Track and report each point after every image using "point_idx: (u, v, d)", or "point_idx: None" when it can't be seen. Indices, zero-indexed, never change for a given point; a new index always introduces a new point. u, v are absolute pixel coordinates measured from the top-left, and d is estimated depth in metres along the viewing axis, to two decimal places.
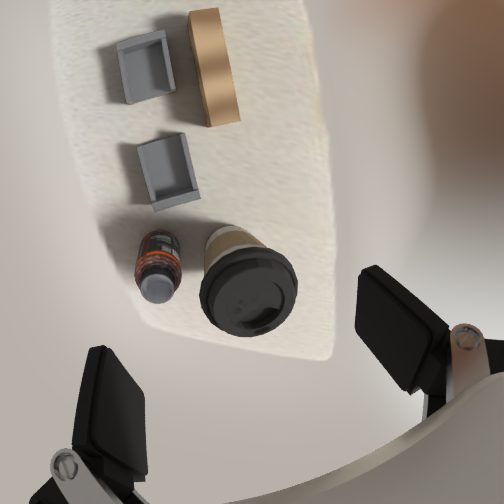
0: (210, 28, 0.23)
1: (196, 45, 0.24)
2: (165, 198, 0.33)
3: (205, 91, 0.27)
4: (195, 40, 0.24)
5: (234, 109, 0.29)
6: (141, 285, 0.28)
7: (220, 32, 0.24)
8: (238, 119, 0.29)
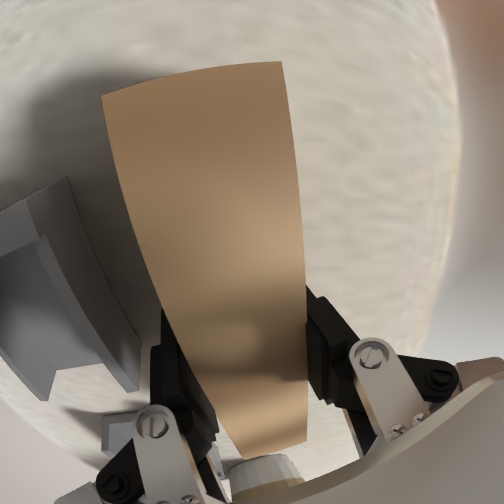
0: (237, 221, 0.06)
1: (173, 320, 0.06)
2: None
3: (227, 428, 0.09)
4: (163, 296, 0.06)
5: (298, 433, 0.11)
6: None
7: (289, 241, 0.06)
8: (302, 440, 0.12)
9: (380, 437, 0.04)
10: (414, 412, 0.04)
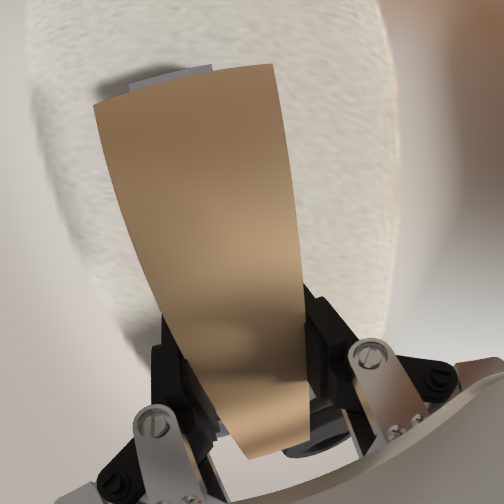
0: (232, 225, 0.06)
1: (172, 325, 0.06)
2: None
3: (230, 429, 0.09)
4: (162, 301, 0.06)
5: (301, 433, 0.11)
6: None
7: (285, 244, 0.06)
8: (305, 440, 0.12)
9: (379, 437, 0.04)
10: (413, 413, 0.04)
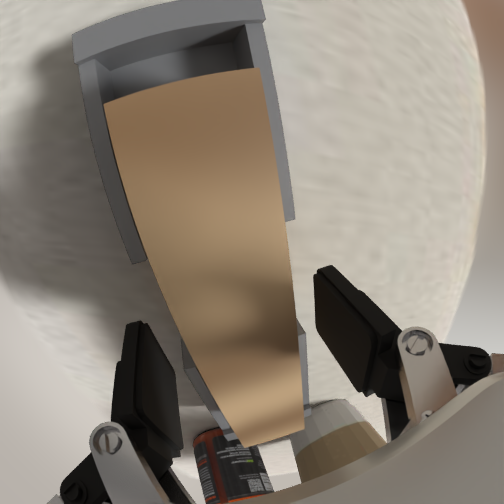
0: (225, 209, 0.06)
1: (170, 302, 0.07)
2: None
3: (225, 413, 0.10)
4: (161, 279, 0.07)
5: (296, 420, 0.12)
6: None
7: (273, 227, 0.07)
8: (300, 428, 0.12)
9: (412, 421, 0.04)
10: None
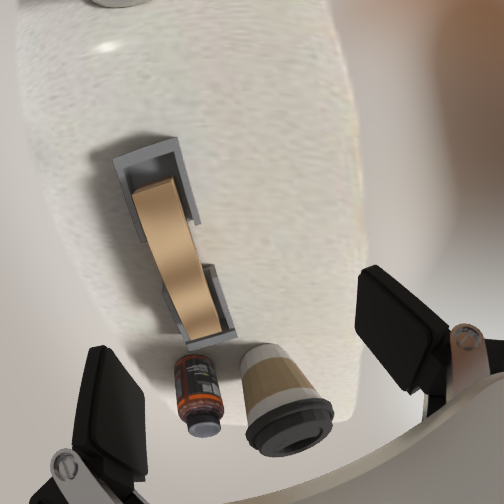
0: (166, 222, 0.22)
1: (152, 250, 0.23)
2: (200, 338, 0.31)
3: (176, 307, 0.25)
4: (150, 243, 0.22)
5: (213, 321, 0.27)
6: (189, 429, 0.26)
7: (180, 226, 0.23)
8: (219, 330, 0.28)
9: None
10: None
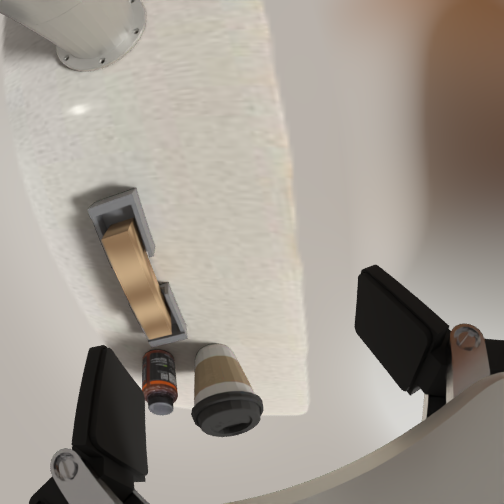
0: (126, 258, 0.30)
1: (118, 277, 0.30)
2: (159, 337, 0.39)
3: (137, 316, 0.33)
4: (115, 272, 0.30)
5: (164, 327, 0.35)
6: (149, 407, 0.34)
7: (136, 261, 0.30)
8: (169, 333, 0.36)
9: None
10: None
